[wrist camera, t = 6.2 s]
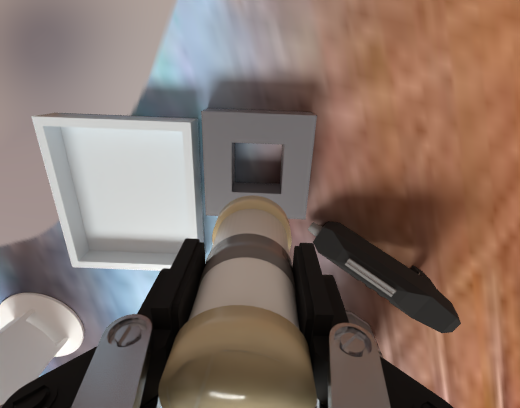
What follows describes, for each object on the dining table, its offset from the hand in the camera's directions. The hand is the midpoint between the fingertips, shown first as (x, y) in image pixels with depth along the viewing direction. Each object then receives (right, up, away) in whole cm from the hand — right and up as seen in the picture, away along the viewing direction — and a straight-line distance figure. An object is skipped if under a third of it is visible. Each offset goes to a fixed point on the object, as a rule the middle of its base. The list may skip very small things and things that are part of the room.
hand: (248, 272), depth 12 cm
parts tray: (-13, +4, +19) cm, 23 cm away
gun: (+13, -2, +22) cm, 25 cm away
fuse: (0, +1, +4) cm, 4 cm away
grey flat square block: (0, +7, +17) cm, 19 cm away
